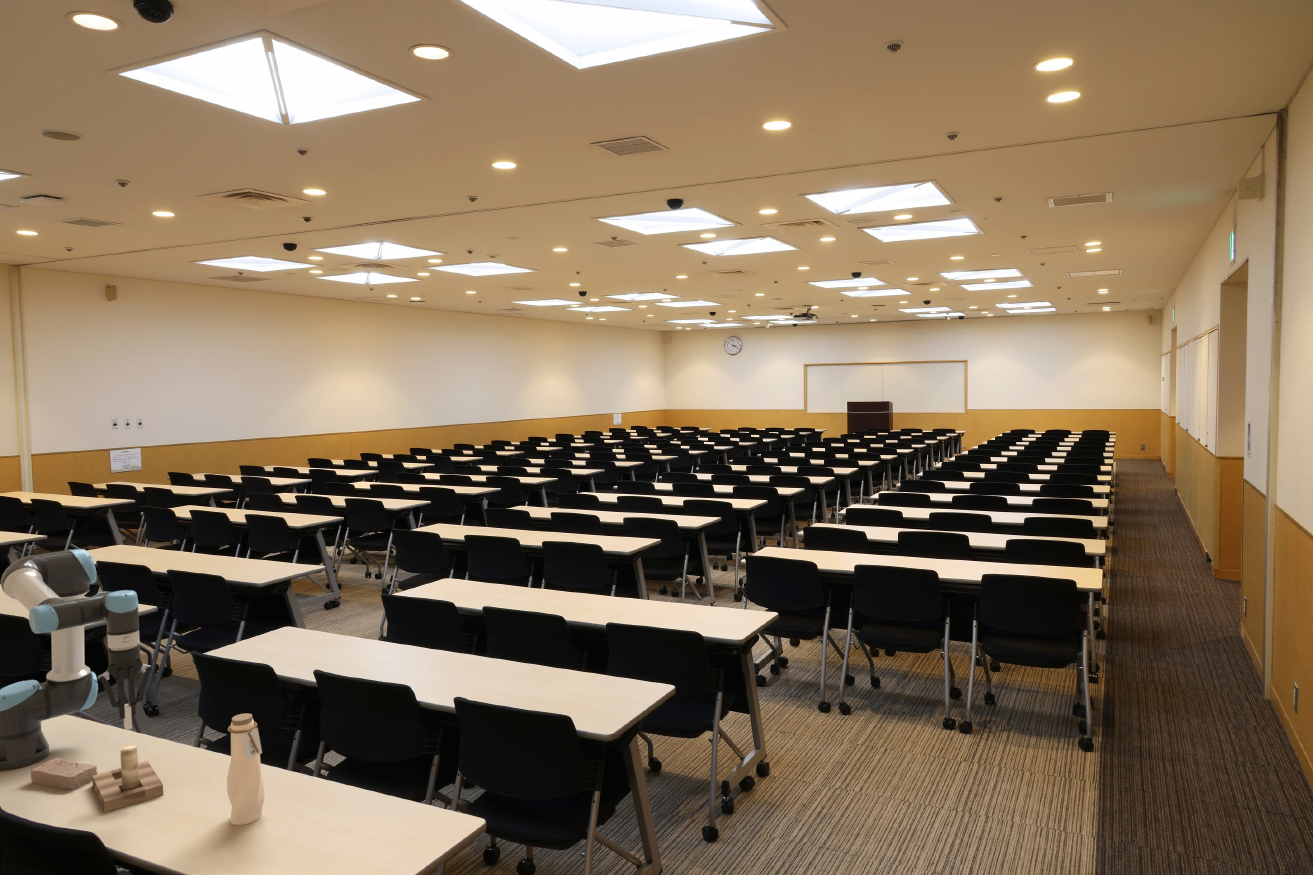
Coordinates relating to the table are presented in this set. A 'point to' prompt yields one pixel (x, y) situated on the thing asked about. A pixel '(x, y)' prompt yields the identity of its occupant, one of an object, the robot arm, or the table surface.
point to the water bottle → (245, 771)
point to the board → (115, 797)
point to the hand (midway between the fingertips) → (128, 727)
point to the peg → (129, 768)
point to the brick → (63, 774)
